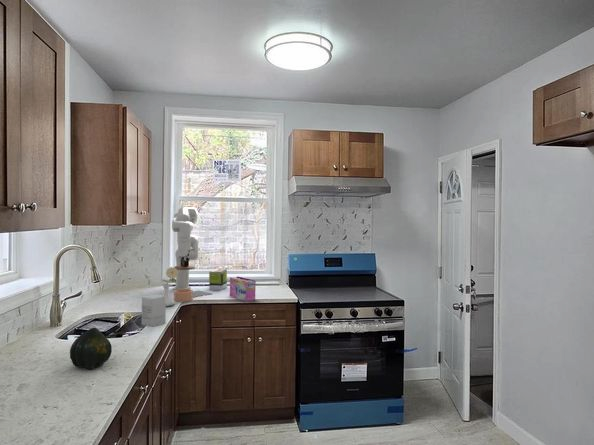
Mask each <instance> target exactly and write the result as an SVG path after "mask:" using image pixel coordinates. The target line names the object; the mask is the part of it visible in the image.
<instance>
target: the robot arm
mask: <svg viewBox="0 0 594 445" xmlns="http://www.w3.org/2000/svg"><path fill="white" fill-rule="evenodd" d="M198 215H199V213H198V210H197V208H195V207H187V206H186V207H180V208H179V209H178V210H177V212H176V213H174V215H173V219H172V221H171V229H172V232H175V233H176V234H177V235H176V236H177V240H176V241H177V249H176V251H175V263H176V266H182V259H185V261H184V267H188V266H190V265H189V262H191V261H192V262H193V261H197V260H199V238H198V236H197V235H195V234H191V232H192V231H193V229H194V225H193V224H195V223H197V221H198ZM177 271H178V276H177V277H175V280H176V282H174V287H173V289H174V290H179V289H191V290H192V287H191V286H189V285H190V270H177Z"/></svg>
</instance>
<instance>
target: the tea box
mask: <svg viewBox="0 0 594 445" xmlns="http://www.w3.org/2000/svg"><path fill="white" fill-rule="evenodd" d="M208 273H209V274H208V276H209V277H208V278H209V279H208V280H209V281H208V284H209V285H208V286H209V290H211V291H222V290H223V289H226V288H228V270H227V268H214V269H212V270H210V271H208Z"/></svg>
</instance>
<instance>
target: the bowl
mask: <svg viewBox="0 0 594 445" xmlns="http://www.w3.org/2000/svg"><path fill="white" fill-rule="evenodd" d="M193 291H194V290H193V289H192V288H191V289H179V290H176V289H174V292H173V300H174V301H175V302H189V301H192V300H193V299H194V297H193Z"/></svg>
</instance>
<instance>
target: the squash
mask: <svg viewBox="0 0 594 445" xmlns="http://www.w3.org/2000/svg"><path fill="white" fill-rule="evenodd" d="M112 347H113V346H112V344H111V341H110V340H109V339H108V338H107V337H106V336H105V335H104V334H103V333H102V331H100V329H98V328H97V327H93V328H89V329H88V330H86V331H84V332H83V333H82V334H80V335H79V336H78V337H77V338H76V339H75V340H74V341H73V343H72V344H71V346H70V348H69V359H70V360H71V362H72V365H73V366H75V367H79V368H81V367H83V368H84V367H85V368H86V369H87V370H92V369H94V367H95V368H98V367H101V366H103V365H104V364H105V363H106V362H107V361H108V360H109V359H110V357H111V354H112V351H113V350H112Z"/></svg>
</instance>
